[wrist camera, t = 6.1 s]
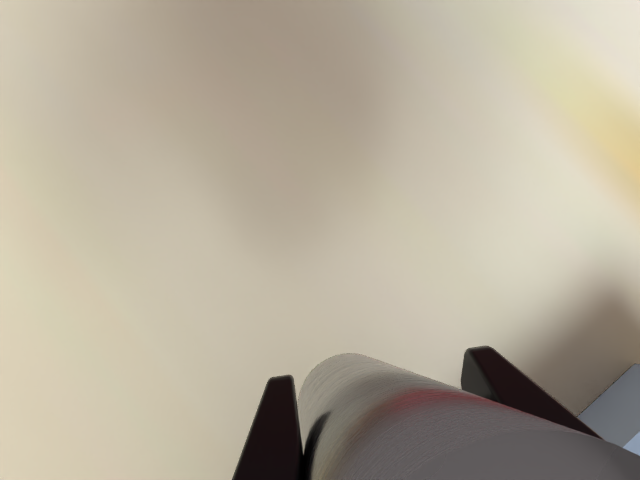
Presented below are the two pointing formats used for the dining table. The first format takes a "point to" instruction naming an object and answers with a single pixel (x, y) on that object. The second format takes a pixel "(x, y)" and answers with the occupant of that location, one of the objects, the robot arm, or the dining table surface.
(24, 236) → the dining table surface
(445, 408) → the peg
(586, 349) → the dining table surface
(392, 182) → the dining table surface
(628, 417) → the hole block
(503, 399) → the robot arm
